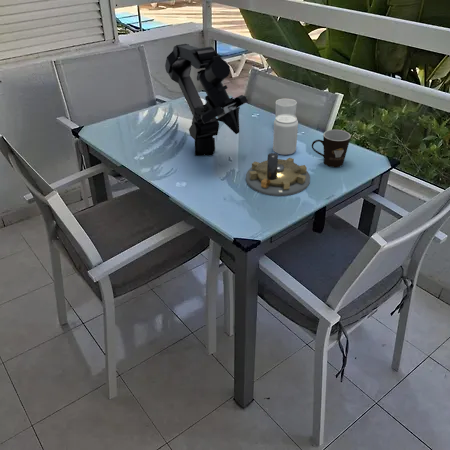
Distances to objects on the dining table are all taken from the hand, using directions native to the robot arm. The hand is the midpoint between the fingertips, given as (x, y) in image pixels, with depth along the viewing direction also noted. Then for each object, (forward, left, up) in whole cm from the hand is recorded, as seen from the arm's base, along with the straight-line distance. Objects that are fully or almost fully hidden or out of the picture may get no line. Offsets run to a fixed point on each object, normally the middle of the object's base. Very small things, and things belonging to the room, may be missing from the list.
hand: (237, 133), depth 150 cm
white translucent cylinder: (+18, +33, -13) cm, 40 cm away
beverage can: (+16, +13, -13) cm, 25 cm away
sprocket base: (+12, -7, -13) cm, 19 cm away
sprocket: (+12, -7, -11) cm, 18 cm away
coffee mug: (+30, +4, -13) cm, 33 cm away
